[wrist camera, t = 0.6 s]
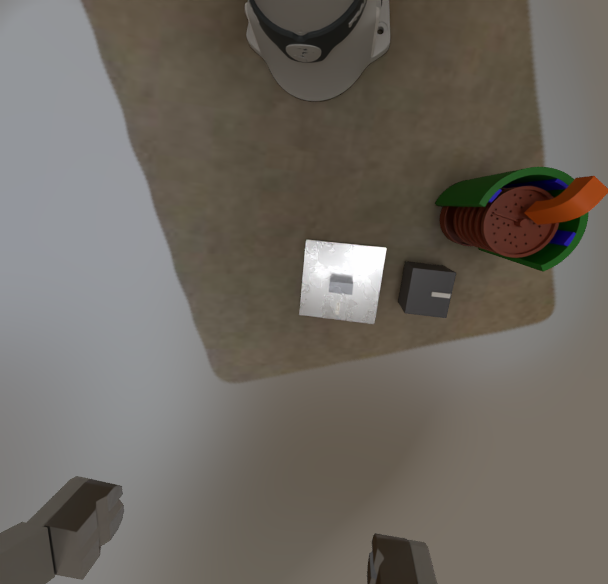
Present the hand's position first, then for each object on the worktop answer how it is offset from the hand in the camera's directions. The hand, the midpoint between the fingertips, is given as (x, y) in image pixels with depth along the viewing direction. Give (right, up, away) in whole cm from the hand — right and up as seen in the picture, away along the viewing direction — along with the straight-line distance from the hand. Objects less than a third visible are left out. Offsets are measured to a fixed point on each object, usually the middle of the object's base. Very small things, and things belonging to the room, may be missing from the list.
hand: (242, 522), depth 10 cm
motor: (+26, +18, +35) cm, 47 cm away
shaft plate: (+8, +9, +40) cm, 41 cm away
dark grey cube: (+20, +8, +38) cm, 44 cm away
